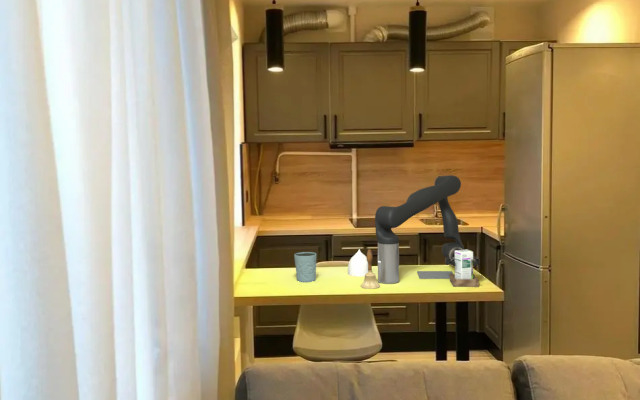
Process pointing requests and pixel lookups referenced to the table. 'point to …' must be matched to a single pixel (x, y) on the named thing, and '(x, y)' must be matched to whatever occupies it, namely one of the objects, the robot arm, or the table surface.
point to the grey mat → (434, 274)
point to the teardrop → (358, 265)
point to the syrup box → (463, 264)
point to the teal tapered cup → (305, 266)
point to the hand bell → (370, 274)
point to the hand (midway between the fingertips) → (464, 264)
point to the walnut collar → (464, 281)
